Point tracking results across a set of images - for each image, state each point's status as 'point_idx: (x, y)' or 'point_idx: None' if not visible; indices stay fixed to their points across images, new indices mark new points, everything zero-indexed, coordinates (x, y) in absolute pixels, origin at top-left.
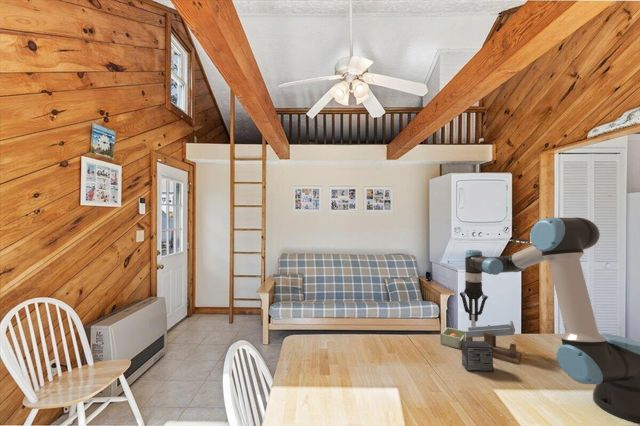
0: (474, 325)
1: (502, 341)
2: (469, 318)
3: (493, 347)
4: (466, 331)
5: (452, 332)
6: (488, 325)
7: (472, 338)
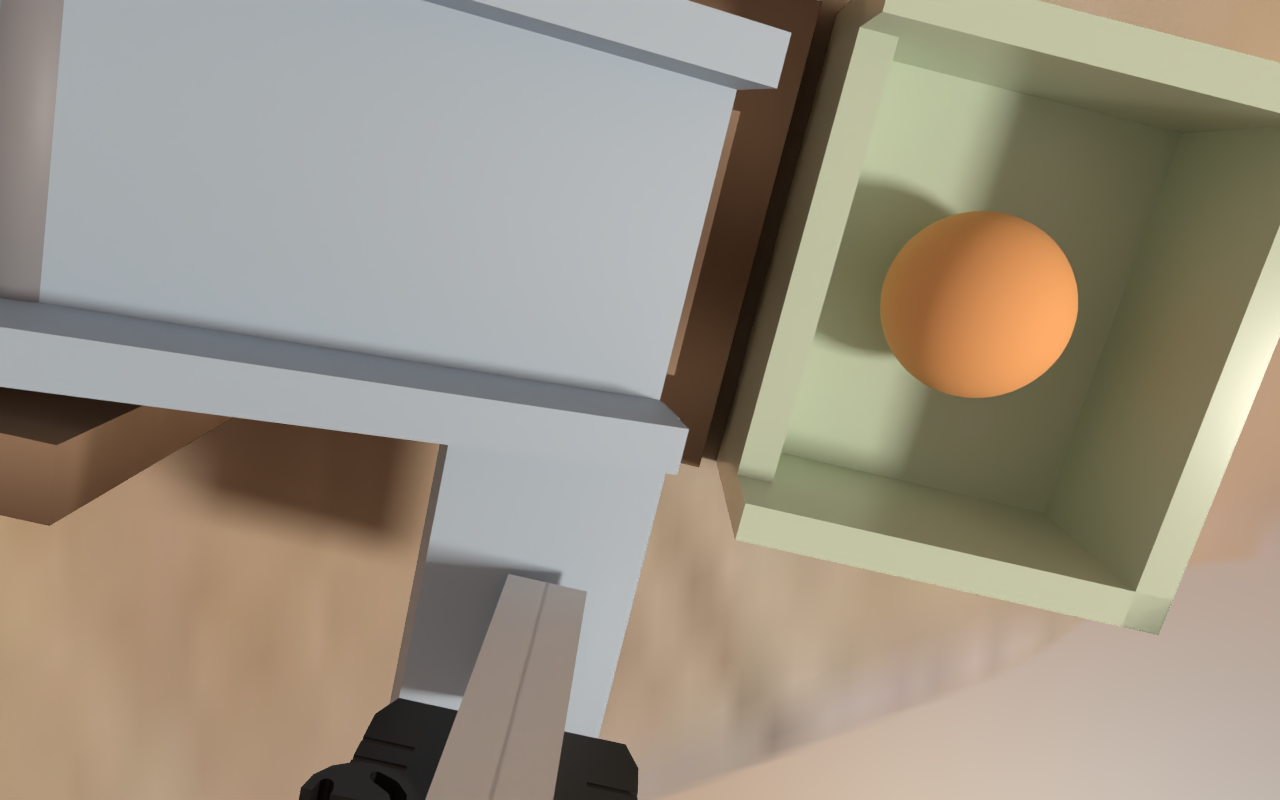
0: (496, 612)
1: (87, 714)
2: (627, 782)
3: None
4: (744, 31)
5: (995, 535)
6: (39, 485)
7: None
